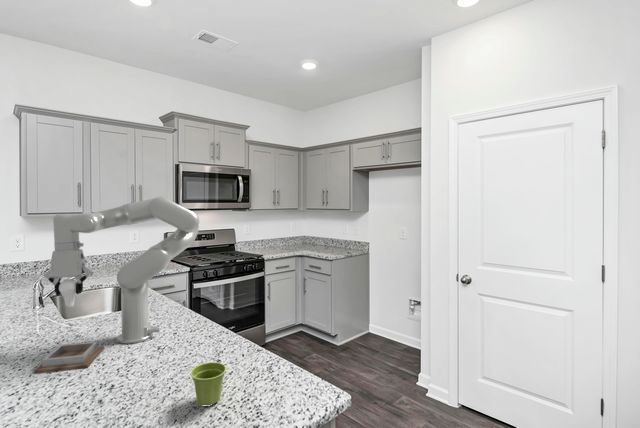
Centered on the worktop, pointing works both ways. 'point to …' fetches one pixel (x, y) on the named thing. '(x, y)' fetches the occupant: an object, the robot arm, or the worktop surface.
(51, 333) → the worktop surface
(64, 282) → the lightbulb
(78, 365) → the socket base
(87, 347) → the square picture frame
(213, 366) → the plant pot
